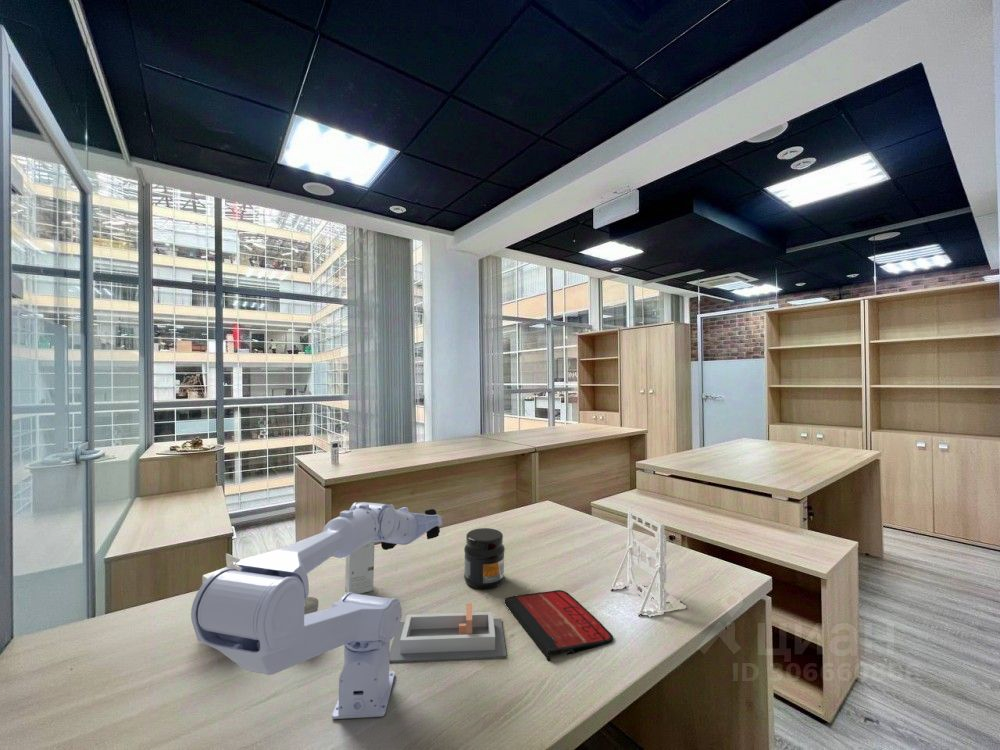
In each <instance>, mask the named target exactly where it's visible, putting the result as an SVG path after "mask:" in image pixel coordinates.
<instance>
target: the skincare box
mask: <svg viewBox="0 0 1000 750" xmlns="http://www.w3.org/2000/svg"><path fill="white" fill-rule="evenodd" d="M374 570H375V543H374V542H369V543H367V544H366V545H364V546H362V547H361V548H359V549H357V550H356V551H354V552H353V553H351V554H349V555H348V556H346V557H345V576H344V577H345V578H344V579H345V580H344V582H345V583H344V590H345V592H346V593H348V592H353V593H355V594H361V595H362V594H365V593H368V592H372V591H373V590H374V579H375V578H374V576H375V575H374V572H375V571H374Z"/></svg>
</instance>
